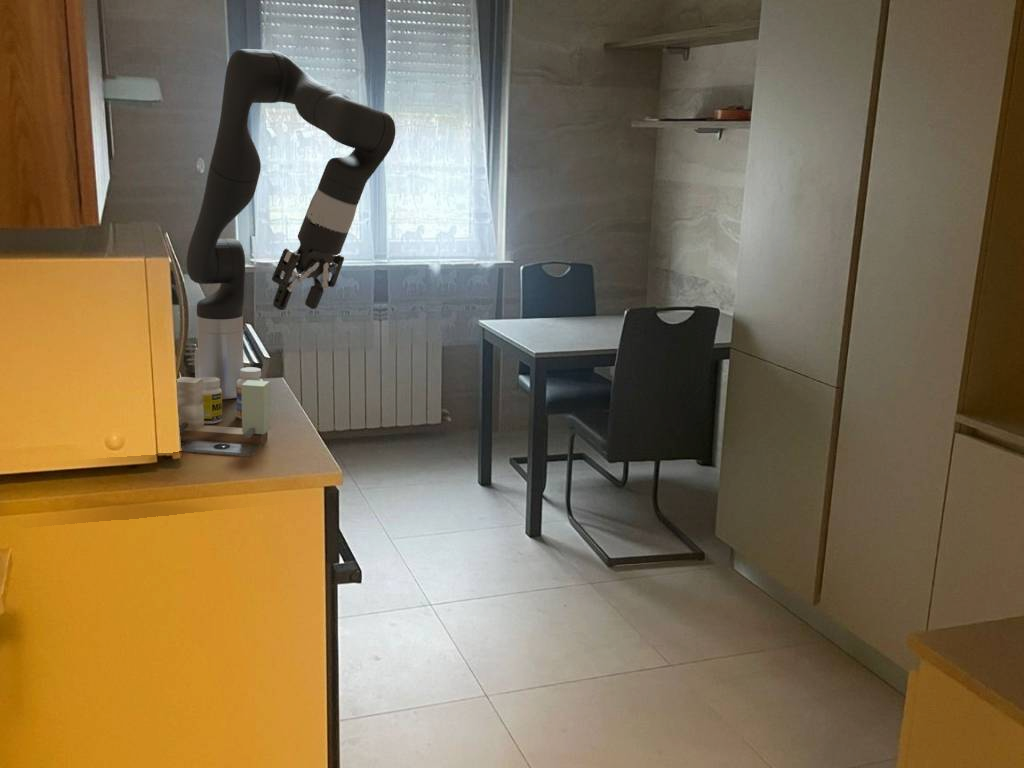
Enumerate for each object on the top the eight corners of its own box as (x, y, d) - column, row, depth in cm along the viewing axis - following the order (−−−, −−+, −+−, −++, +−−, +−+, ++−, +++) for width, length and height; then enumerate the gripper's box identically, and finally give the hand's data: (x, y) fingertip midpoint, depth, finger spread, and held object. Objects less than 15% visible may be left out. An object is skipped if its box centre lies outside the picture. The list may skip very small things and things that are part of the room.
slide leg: (235, 438, 171) (234, 389, 169) (248, 427, 178) (248, 379, 175) (257, 440, 171) (257, 391, 168) (270, 428, 177) (269, 381, 175)
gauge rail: (167, 445, 172) (165, 386, 169) (183, 433, 179) (181, 376, 176) (255, 452, 171) (254, 392, 168) (267, 440, 178) (267, 382, 175)
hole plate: (161, 450, 170) (161, 446, 169) (173, 441, 174) (172, 437, 174) (250, 456, 169) (250, 453, 169) (259, 447, 174) (259, 444, 173)
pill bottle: (232, 419, 189) (232, 371, 187) (241, 411, 194) (240, 365, 192) (260, 421, 189) (259, 373, 187) (268, 413, 194) (267, 367, 192)
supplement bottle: (214, 425, 185) (213, 383, 183) (192, 422, 186) (191, 380, 184) (227, 418, 189) (226, 377, 187) (204, 416, 190) (203, 375, 188)
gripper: (336, 214, 168) (304, 297, 173) (284, 208, 155) (250, 297, 160) (369, 233, 165) (335, 316, 170) (318, 228, 153) (283, 319, 157)
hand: (294, 307), depth 165 cm, fingers open, 8 cm apart
